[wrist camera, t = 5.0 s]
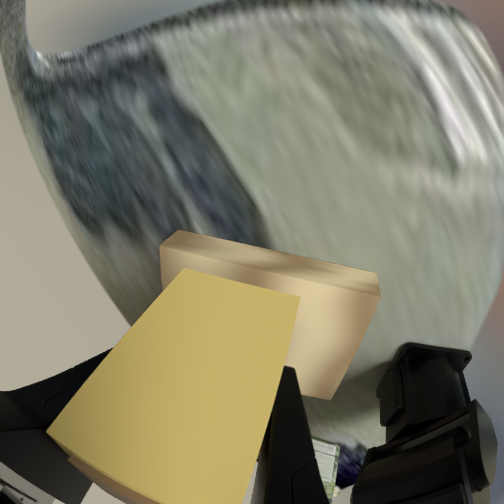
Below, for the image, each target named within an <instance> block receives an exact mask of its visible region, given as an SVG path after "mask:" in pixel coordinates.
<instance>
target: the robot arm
mask: <svg viewBox="0 0 504 504" xmlns="http://www.w3.org/2000/svg"><path fill="white" fill-rule="evenodd" d="M113 348H114V347H113ZM113 348H111V349H109V350H107V351H105V352H103V353H101V354H99V355H97V356H95V357H93V358H91V359H89V360H87V361H85V362H83V363H81V364H79V365H76V366H75V367H74V368H70V369H68V370H66V371H64V372H62V373H60V374H57V375H55V376H53V377H50V378H47V379H45V380H42V381H39V382H37V383H34V384H31V385H28V386H25V387H22V388H19V389H16V390H12V391H0V504H52V503H53V501H54V500H55V498H56V499H58V500H60V501H61V502H63V503H65V504H81V502H82V500H83V498H84V497H85V495H86V493H87V491H88V490H89V488H90V487H91V485H92V483H93V482H92V481H91V480H90V479H89V478H88V477H86V476H85V475H84V474H83V473H82V472H80V471H79V470H78V469H77V468H76V467H75V466H73V465H72V464H71V463H70V462H69V461H68V458H69V457H70V456H69V455H68V454H67V453H66V452H65V451H64V450H63V449H62V448H61V447H60V446H59V445H58V444H57V443H56V442H55V441H54V440H53V439H52V438H51V437H50V436H49V435H48V433H47V432H46V431H47V430H48V428H49V427H50V426H51V424H52V423H53V422H54V420H55V419H56V418H57V417H58V415H59V414H60V413H61V412H62V410H63V409H64V408H65V406H66V405H67V404H68V403H69V401H70V400H71V399H72V398H73V396H74V395H75V394H76V393H77V391H78V390H79V389H80V388H81V387H82V385H83V384H84V383H85V382H86V380H87V379H88V378H89V377H90V375H91V374H92V373H93V372H94V371H95V369H96V368H97V367H98V366H99V365H100V363H101V362H102V361H103V360H104V359H105V357H106V356H107V355H108V354H109V353H110V352H111V350H112V349H113ZM410 349H412V350H410ZM471 359H472V355H471V353H470V352H469V351H463V350H456V349H449V348H442V347H435V346H429V345H422V344H416V343H409V344H407V345H406V346H405V347H404V349H403V351H402V352H401V354H400V356H399V357H398V359H397V361H396V362H395V364H394V365H392V366H391V367H390V369H389V371H388V372H387V374H386V375H385V377H384V378H383V380H382V381H381V383H380V385H379V388H378V390H377V392H376V396H377V397H378V398H380V424H381V426H384V427H386V444H384V445H381V446H378V447H372V448H370V449H368V451H367V454H366V456H365V459H364V462H363V465H362V467H361V470H360V473H359V475H358V478H357V480H356V483H355V485H354V486H353V488H352V494H351V498H350V504H489V503H490V490H489V486H491V485H492V484H493V483H494V478H495V469H496V460H497V459H496V458H497V444H498V443H497V438H496V435H495V431H494V427H493V423H492V421H491V418H490V417H489V415H488V414H487V413H486V412H485V410H484V409H483V408H482V406H481V405H480V404H479V402H478V401H477V400H476V399H474V400H473V401H471V400H470V396H469V392H468V389H467V385H466V381H465V378H464V374H463V370H464V368H465V367H466V366H467V364H468V363H469V362H470V360H471ZM315 456H316V455H315V451H314V446H313V442H312V438H311V433H310V429H309V425H308V420H307V416H306V412H305V408H304V403H303V399H302V395H301V391H300V387H299V383H298V378H297V374H296V370H295V368H293V367H290V366H285V365H284V367H283V371H282V375H281V378H280V382H279V386H278V389H277V393H276V397H275V400H274V404H273V407H272V411H271V414H270V417H269V421H268V424H267V427H266V431H265V434H264V437H263V440H262V444H261V450H260V455H259V461H258V467H257V472H256V478H255V483H254V489H253V494H252V499H251V504H330V502H329V499H328V497H327V494H326V491H325V488H324V485H323V482H322V479H321V475H320V471H319V467H318V463H317V459H316V458H315Z"/></svg>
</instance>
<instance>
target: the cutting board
mask: <svg viewBox="0 0 504 504" xmlns="http://www.w3.org/2000/svg"><path fill="white" fill-rule="evenodd" d="M159 250H160V267H161V282H162V292H163V291H164V290H165V288H166V287H167V286H168V285H169V284H170V283H171V282H172V281H173V280H174V279H175V277H176V276H177V275H178V274H179V273H180V272H181V271H182V270H183V269H184V268H187V269H190V270H194V271H198V272H202V273H206V274H210V275H213V276H217V277H221V278H225V279H229V280H233V281H237V282H241V283H245V284H249V285H253V286H257V287H262V288H266V289H270V290H274V291H278V292H282V293H287V294H291V295H295V296H299V297H301V298H300V302H299V307H298V311H297V315H296V319H295V324H294V328H293V332H292V336H291V340H290V344H289V348H288V352H287V356H286V360H285V363H284V365H285V366H290V367H293V368H295V370H296V374H297V378H298V383H299V387H300V391H301V395H306V396H311V397H316V398H321V399H327V400H331V399H332V397H333V395H334V393H335V391H336V390H337V388H338V386H339V384H340V382H341V380H342V379H343V377H344V375H345V373H346V371H347V369H348V367H349V365H350V363H351V361H352V359H353V357H354V355H355V353H356V351H357V349H358V347H359V345H360V343H361V341H362V339H363V337H364V334H365V332H366V330H367V328H368V326H369V323H370V321H371V319H372V317H373V314H374V312H375V310H376V307H377V305H378V303H379V300H380V298H381V295H380V289H379V284H378V278H377V273H372V272H368V271H364V270H359V269H355V268H350V267H346V266H341V265H337V264H333V263H328V262H324V261H319V260H315V259H310V258H306V257H301V256H297V255H292V254H288V253H283V252H279V251H274V250H270V249H265V248H261V247H256V246H251V245H247V244H242V243H238V242H233V241H229V240H224V239H219V238H215V237H210V236H206V235H201V234H196V233H192V232H187V231H183V230H177V231H176V232H175V233H174V234H173V235H171V236H170V237H169V238H168V239H167V240H165V241H164V242H163V243H162V244H161V245H159Z"/></svg>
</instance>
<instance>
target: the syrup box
mask: <svg viewBox="0 0 504 504" xmlns="http://www.w3.org/2000/svg"><path fill="white" fill-rule="evenodd" d="M311 438H312V442H313V446H314V451H315V455H316V456H315V458H316V459H317V463H318V467H319V471H320V475H321V479H322V482H323V485H324V488H325V491H326V494H327V497H328V499H329V502H330V504H332V498H333V493H334V486H335V480H336V473H337V465H338V457H339V450H340V446H339V445H336V444H333V443H329V442H326V441H323V440H320V439H316V438H313V437H311Z"/></svg>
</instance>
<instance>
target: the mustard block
mask: <svg viewBox="0 0 504 504" xmlns="http://www.w3.org/2000/svg"><path fill="white" fill-rule="evenodd" d="M300 298H301V297H299V296H295V295H291V294H287V293H282V292H278V291H274V290H270V289H266V288H262V287H257V286H253V285H249V284H245V283H241V282H237V281H233V280H229V279H225V278H221V277H217V276H213V275H210V274H206V273H202V272H198V271H194V270H190V269H187V268H184V269H183V270H182V271H181V272H180V273H179V274H178V275H177V276H176V277H175V279H174V280H173V281H172V282H171V283H170V284H169V285H168V286H167V287H166V288H165V290H164V291H163V292H162V293H161V294H160V295H159V296H158V297H157V299H156V300H155V301H154V302H153V303H152V304H151V305H150V306H149V308H148V309H147V310H146V311H145V312H144V313H143V314H142V316H141V317H140V318H139V319H138V320H137V321H136V322H135V324H134V325H133V326H132V327H131V328H130V329H129V330H128V332H127V333H126V334H125V335H124V336H123V338H122V339H121V340H120V341H119V342H118V343H117V344H116V346H115V347H114V348H113V349H112V350H111V352H110V353H109V354H108V355H107V356H106V357H105V359H104V360H103V361H102V362H101V363H100V365H99V366H98V367H97V368H96V369H95V371H94V372H93V373H92V374H91V375H90V377H89V378H88V379H87V380H86V382H85V383H84V384H83V385H82V387H81V388H80V389H79V390H78V391H77V393H76V394H75V395H74V396H73V398H72V399H71V400H70V401H69V403H68V404H67V405H66V406H65V408H64V409H63V410H62V412H61V413H60V414H59V415H58V417H57V418H56V419H55V420H54V422H53V423H52V424H51V426H50V427H49V428H48V430H47V431H46V432H47V433H48V435H49V436H50V437H51V438H52V439H53V440H54V441H55V442H56V443H57V444H58V445H59V446H60V447H61V448H62V449H63V450H64V451H65V452H66V453H67V454H68V455H69V456H70V457H69V458H68V461H69V462H70V463H71V464H72V465H73V466H75V467H76V468H77V469H78V470H79V471H80V472H82V473H83V474H84V475H85V476H86V477H88V478H89V479H90V480H91V481H92V482H94V483H95V484H96V485H98V486H99V487H100V488H101V489H103V490H104V491H105V492H107V493H108V494H110V495H112V496H113V497H115V498H117V499H119V500H121V501H123V502H125V503H126V504H241V503H242V501H243V498H244V495H245V492H246V489H247V486H248V483H249V480H250V478H251V474H252V471H253V469H254V466H255V462H256V459H257V456H258V453H259V450H260V447H261V444H262V440H263V437H264V434H265V431H266V427H267V424H268V421H269V417H270V414H271V411H272V407H273V404H274V400H275V397H276V393H277V389H278V386H279V382H280V378H281V375H282V371H283V367H284V363H285V360H286V356H287V352H288V348H289V344H290V340H291V336H292V332H293V328H294V324H295V319H296V315H297V311H298V307H299V302H300Z"/></svg>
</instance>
